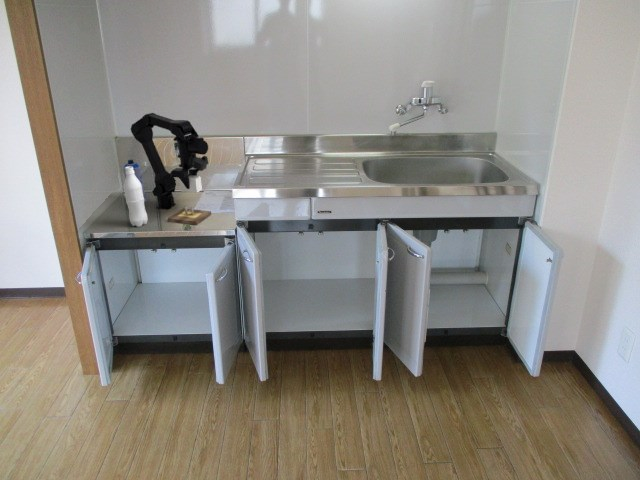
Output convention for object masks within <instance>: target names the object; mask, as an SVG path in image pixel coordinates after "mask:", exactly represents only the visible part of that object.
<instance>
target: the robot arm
mask: <svg viewBox="0 0 640 480" xmlns="http://www.w3.org/2000/svg"><path fill="white" fill-rule="evenodd" d="M154 127H158V128H161V129H164V130H167V131H169V132H170V133H171V134H172V135H174V136H175V137H174V138H173V141H174V142H177V147H178V154H177V155H176V156H177V158H178V159H180V160H179V161H180V163H179V164H178V167H176V168H174V169H171V171H170V172H168V170H166V167H165V166H164V163H163V160H162V159H161V156H160V154H159V152H158V149H157V147H156V145H155V143H154V140H153V137H154V131H153V129H154ZM130 132H131V134H132V135H133V137H134V139H135V140H136V142H139V143H140V144H141V146H142V148H143V151H144V153H145V155H146V156H147V160H148V161H149V164H150V167H151V168H152V171H153V173H154V184H155V185H154V186H155V187H154V188H153V190H152V191H151V192H152V195H153V196H154V197H156V199H157V206H156V209H163V210H170V209H171V208H173V207H175V206H176V205H177V203H175V197H174V196H173V195H174V194H173V193H175V191H176V186H177V183H176V182H177V181H176V178H177V179H178V180H179V179H180V180H181V181H182V182H183V184H184V185H185V187H186V188H187V189H190V183H189V177H190V176H198V173H199V172H202V171H204V170H206V169H207V165H209V158H208V156H206V154H207V153H208V151H209V144H208V143H207V141H206V140H204V139H205V138H204V137H199V134H198V132H197V131H196V129H195V128H194V126H193V124H191V122H190V121H189V120H186V119H185V120H184V119H171V118H168V117H165V116H162V115H159V114H156V113H155V112H149V113H146V114H144V115H143V116H142V117H141V118H140V119H138V120H136V121H135V123H132V124H131V127H130ZM197 155H203V156H201V157H198V156H197Z"/></svg>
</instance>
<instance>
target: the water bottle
mask: <svg viewBox="0 0 640 480" xmlns="http://www.w3.org/2000/svg"><path fill="white" fill-rule="evenodd" d="M125 169H126V171H125V172H126V173H125V174H126V179H125V178H124V182H123V187H122V188H123V191H124V196H125V202H126V204H127V207H128V212H129V216H128V217H129V218H128V220H129V222H130V224H131V225H132V226H133V227H135V226H136V227H142V226H143V225H144V226H145V225H147V223H148V213H147V211H146V207H145V206H146V205H145V202H144V197H143V191H142V185H141V183H140V181H139V180H138V179H137V177H136V176H135V174H134V173H135V172H134V170H133V166H127V167H125Z"/></svg>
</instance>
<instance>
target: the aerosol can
mask: <svg viewBox="0 0 640 480" xmlns="http://www.w3.org/2000/svg"><path fill="white" fill-rule="evenodd" d="M127 166H133V170H134V172H135V173H134V174H135V176H136V177H137V179H138V180H139V181H140V183H141V185H142V191H143V197H144V203H147V201H148V199H147V198H146V197H147V196H146V192H145V185H144V180H143V173H142V168H141V166H140V164H138V163H137V162H134V159H128V160H127V163H125V165H124V166H123V171H122V172H123V174H124V180H125V179H126V174H125V173H126V172H125V171H126V169H125V167H127Z"/></svg>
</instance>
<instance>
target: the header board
mask: <svg viewBox="0 0 640 480" xmlns="http://www.w3.org/2000/svg"><path fill="white" fill-rule="evenodd" d="M211 215H212V211H211V210H203V209H202V210H201V209H194V207H193V206H191V207H190V208H188V207H187V206H186V205H185V206H184V207H182V208H181V209H179V210H178V211H176V212H175V213H174V214H172V215H171V216H169V217H168V218H167V222H168V223H169V222H170V223H175V224H176V223H178V224H183V225H185V224H186V225H193V226H198V225H199V224H201V223H202V222H203V221H204V220H206V219H208V218H209V217H210V216H211Z"/></svg>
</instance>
